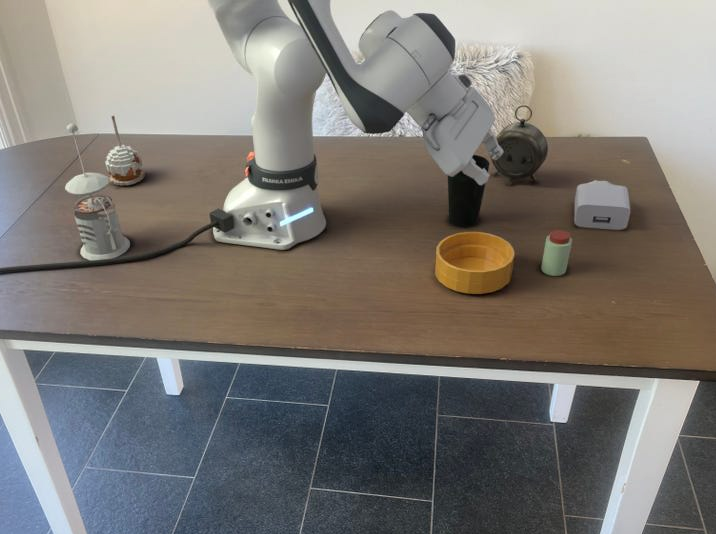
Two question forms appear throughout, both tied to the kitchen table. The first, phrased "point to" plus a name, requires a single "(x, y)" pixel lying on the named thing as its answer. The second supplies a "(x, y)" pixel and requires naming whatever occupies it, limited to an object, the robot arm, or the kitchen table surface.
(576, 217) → the charger
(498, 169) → the alarm clock
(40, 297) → the kitchen table surface
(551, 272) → the container
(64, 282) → the kitchen table surface
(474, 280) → the bowl
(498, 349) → the kitchen table surface
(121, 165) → the caramel apple
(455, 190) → the cup
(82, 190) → the french press
